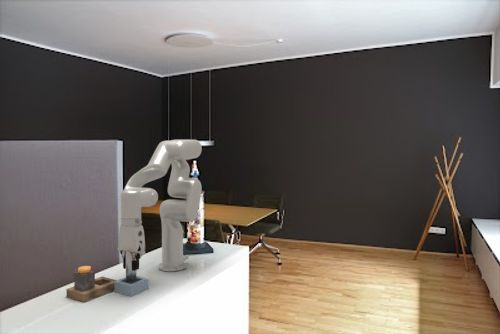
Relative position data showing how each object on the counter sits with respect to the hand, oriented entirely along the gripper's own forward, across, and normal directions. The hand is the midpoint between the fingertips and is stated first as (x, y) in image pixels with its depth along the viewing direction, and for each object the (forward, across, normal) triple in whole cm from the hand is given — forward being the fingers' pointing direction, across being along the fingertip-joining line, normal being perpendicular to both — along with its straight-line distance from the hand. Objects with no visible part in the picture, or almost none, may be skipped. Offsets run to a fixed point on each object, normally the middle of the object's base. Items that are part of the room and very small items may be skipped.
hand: (131, 268), depth 148 cm
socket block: (+9, +10, +9) cm, 16 cm away
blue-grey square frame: (+9, 0, 0) cm, 9 cm away
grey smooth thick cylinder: (+5, 0, 0) cm, 5 cm away
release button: (+6, +11, +13) cm, 17 cm away
